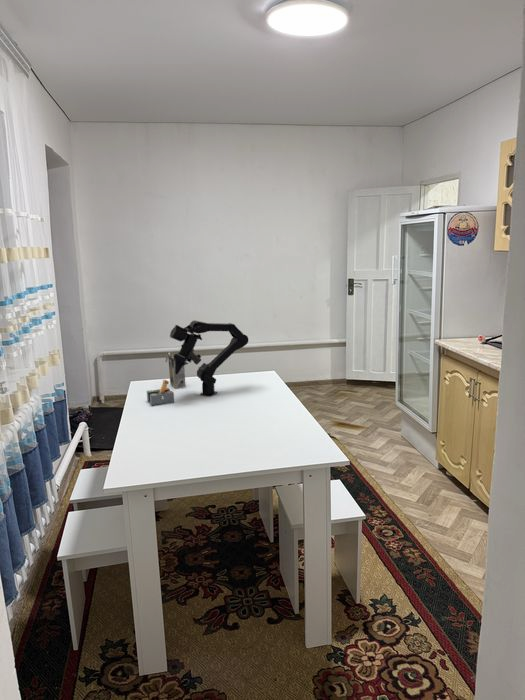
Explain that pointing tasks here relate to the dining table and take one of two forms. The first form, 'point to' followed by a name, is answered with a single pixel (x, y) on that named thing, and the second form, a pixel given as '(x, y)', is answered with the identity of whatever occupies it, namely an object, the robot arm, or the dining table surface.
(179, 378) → the coffee box
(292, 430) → the dining table surface
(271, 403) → the dining table surface
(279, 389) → the dining table surface
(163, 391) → the breaker handle
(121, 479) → the dining table surface
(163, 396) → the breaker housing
